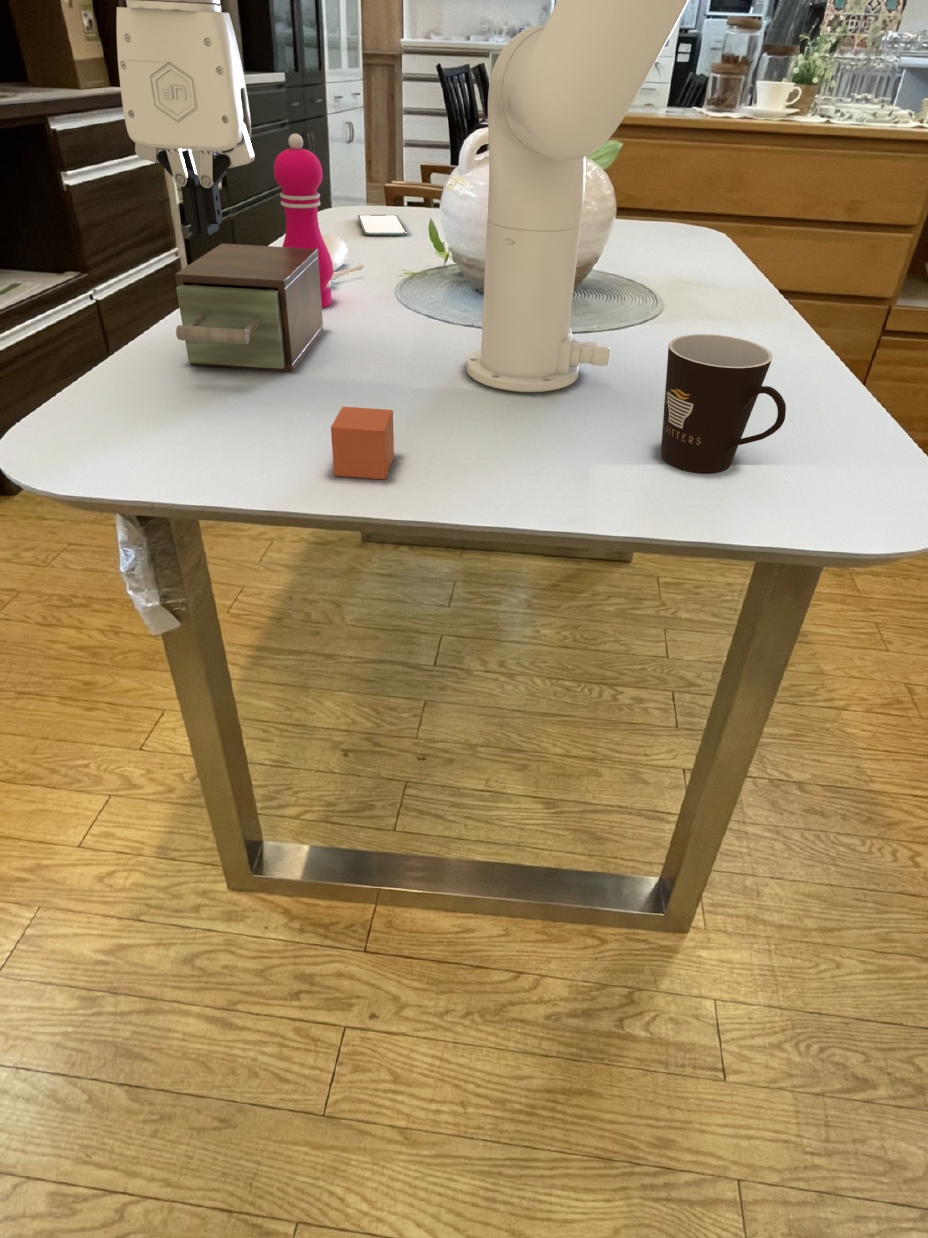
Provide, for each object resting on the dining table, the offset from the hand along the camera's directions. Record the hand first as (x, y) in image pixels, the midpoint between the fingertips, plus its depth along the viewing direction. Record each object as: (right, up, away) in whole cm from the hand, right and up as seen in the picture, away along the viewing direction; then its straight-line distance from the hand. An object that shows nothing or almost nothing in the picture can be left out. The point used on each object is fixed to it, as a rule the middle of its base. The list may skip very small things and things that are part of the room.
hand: (205, 231), depth 77 cm
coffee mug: (+46, -23, -4) cm, 52 cm away
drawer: (0, -7, +13) cm, 15 cm away
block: (+16, -24, -6) cm, 29 cm away
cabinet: (+1, -5, +18) cm, 19 cm away
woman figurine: (+4, +15, +45) cm, 48 cm away
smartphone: (+9, +37, +75) cm, 84 cm away
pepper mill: (+3, +6, +33) cm, 34 cm away
